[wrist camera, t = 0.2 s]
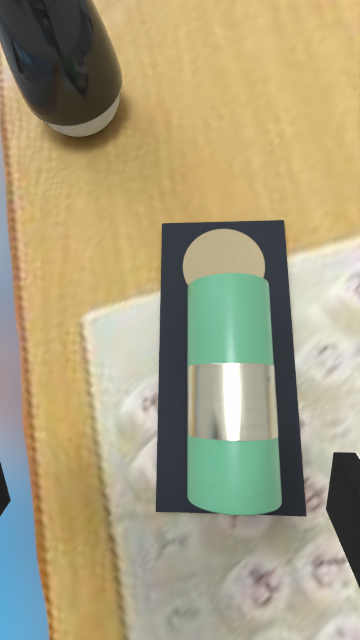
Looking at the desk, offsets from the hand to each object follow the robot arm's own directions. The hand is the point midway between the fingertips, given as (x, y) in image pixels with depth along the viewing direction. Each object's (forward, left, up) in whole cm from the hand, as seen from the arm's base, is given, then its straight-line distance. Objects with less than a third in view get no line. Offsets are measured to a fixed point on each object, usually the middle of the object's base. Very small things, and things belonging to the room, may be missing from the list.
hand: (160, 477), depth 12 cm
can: (+4, -4, -15) cm, 16 cm away
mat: (+7, -4, -15) cm, 17 cm away
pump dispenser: (+34, +11, -15) cm, 39 cm away
